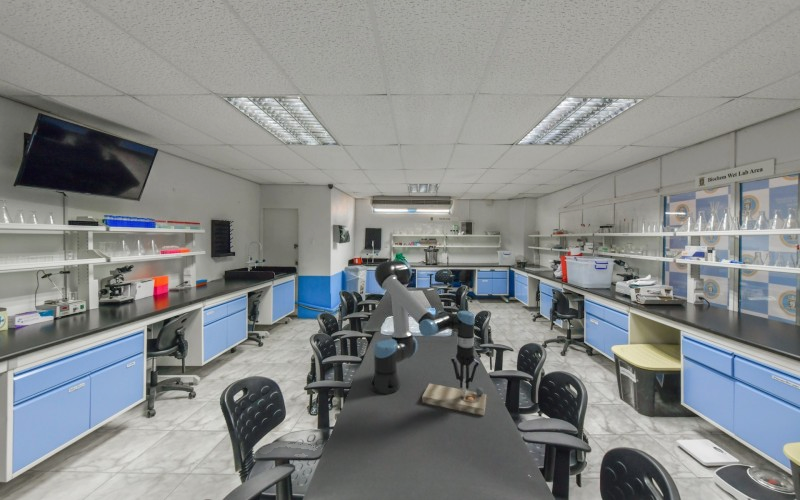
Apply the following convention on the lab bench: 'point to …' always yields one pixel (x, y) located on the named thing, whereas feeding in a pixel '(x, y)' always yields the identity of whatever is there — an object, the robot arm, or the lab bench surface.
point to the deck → (454, 399)
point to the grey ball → (479, 391)
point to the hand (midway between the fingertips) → (464, 394)
